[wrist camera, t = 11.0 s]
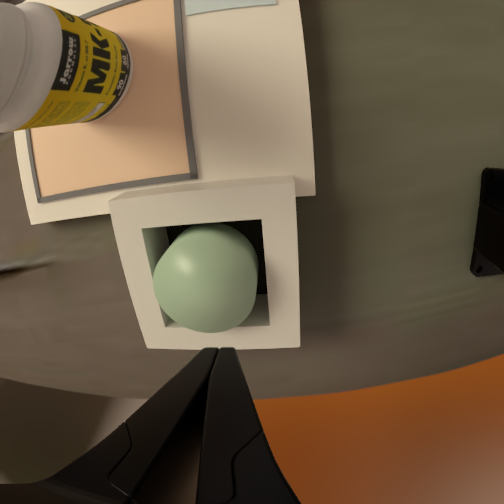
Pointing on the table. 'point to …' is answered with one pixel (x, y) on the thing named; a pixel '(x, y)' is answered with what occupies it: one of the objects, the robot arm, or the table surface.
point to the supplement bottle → (58, 68)
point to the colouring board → (180, 106)
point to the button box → (208, 211)
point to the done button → (207, 278)
